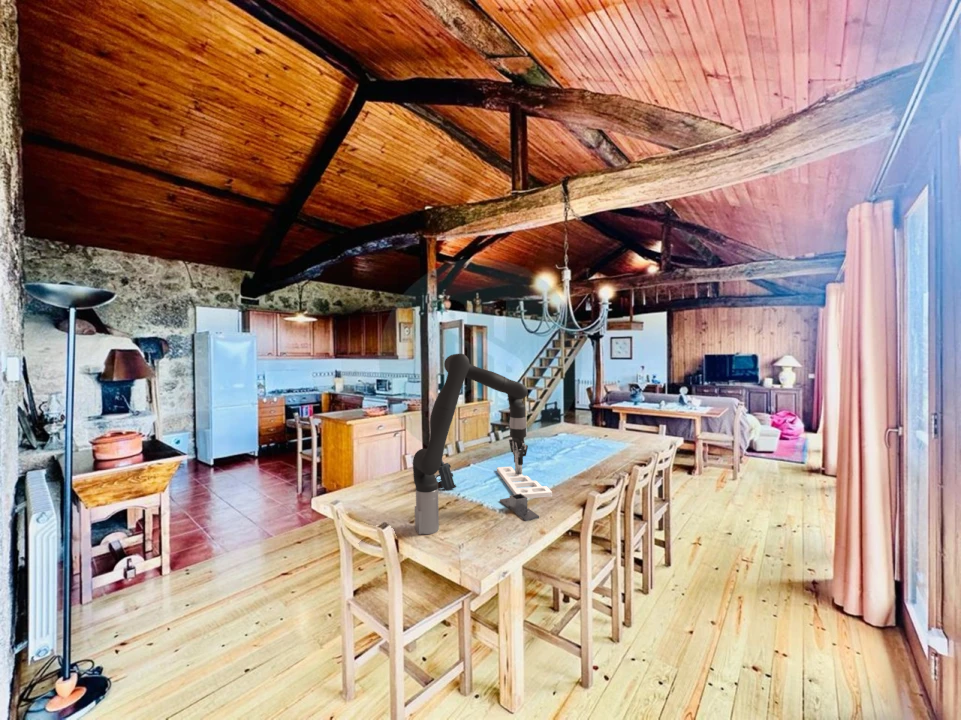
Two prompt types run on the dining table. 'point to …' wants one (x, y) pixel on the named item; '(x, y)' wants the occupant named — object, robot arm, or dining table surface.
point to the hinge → (519, 506)
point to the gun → (445, 477)
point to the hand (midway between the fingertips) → (518, 463)
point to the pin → (517, 467)
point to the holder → (523, 484)
